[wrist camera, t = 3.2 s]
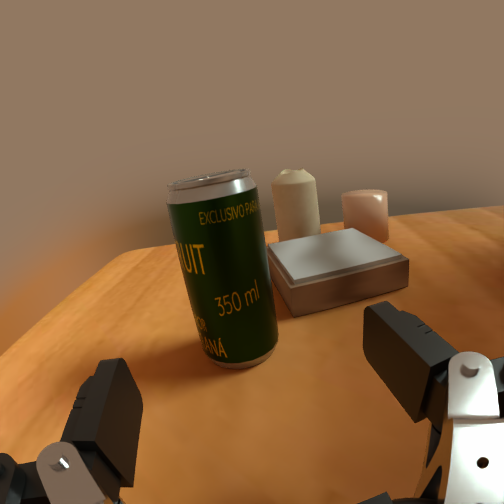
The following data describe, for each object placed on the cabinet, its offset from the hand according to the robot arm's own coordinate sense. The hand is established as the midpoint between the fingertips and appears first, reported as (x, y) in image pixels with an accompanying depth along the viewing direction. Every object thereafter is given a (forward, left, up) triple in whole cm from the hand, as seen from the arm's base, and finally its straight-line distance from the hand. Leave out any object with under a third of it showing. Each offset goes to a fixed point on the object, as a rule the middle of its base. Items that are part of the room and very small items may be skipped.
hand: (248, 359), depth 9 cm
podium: (-10, -18, -7) cm, 22 cm away
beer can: (0, -10, -7) cm, 13 cm away
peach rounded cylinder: (-19, -28, -7) cm, 34 cm away
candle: (-10, -30, -7) cm, 32 cm away
